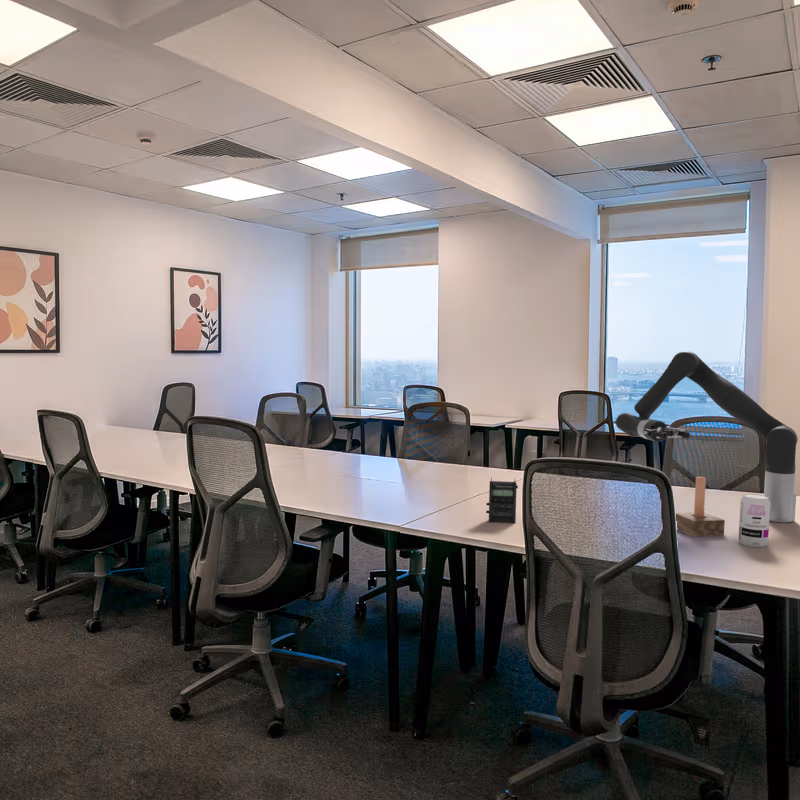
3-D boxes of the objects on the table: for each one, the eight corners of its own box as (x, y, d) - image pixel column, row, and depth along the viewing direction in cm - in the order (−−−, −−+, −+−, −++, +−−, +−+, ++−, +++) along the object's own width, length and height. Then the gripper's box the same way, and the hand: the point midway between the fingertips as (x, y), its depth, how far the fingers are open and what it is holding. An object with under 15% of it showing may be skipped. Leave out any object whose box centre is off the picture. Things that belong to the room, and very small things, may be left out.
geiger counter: (485, 522, 238) (486, 479, 237) (486, 519, 243) (487, 476, 241) (516, 524, 237) (518, 480, 236) (516, 521, 241) (517, 478, 240)
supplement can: (755, 539, 222) (758, 493, 220) (773, 547, 214) (776, 499, 212) (732, 540, 220) (735, 493, 219) (750, 548, 212) (752, 499, 211)
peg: (699, 529, 233) (702, 476, 231) (705, 532, 230) (707, 478, 228) (691, 530, 232) (693, 476, 231) (696, 532, 229) (699, 478, 228)
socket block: (703, 526, 237) (703, 511, 237) (723, 535, 227) (724, 520, 226) (673, 527, 235) (674, 513, 235) (693, 536, 225) (694, 521, 224)
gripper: (634, 420, 257) (659, 425, 241) (670, 419, 259) (696, 424, 243) (634, 440, 257) (658, 446, 241) (669, 439, 260) (695, 446, 244)
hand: (677, 435), depth 242 cm, fingers open, 8 cm apart
